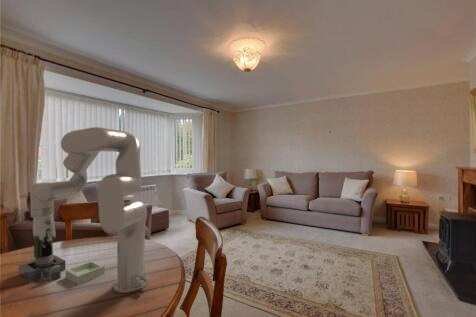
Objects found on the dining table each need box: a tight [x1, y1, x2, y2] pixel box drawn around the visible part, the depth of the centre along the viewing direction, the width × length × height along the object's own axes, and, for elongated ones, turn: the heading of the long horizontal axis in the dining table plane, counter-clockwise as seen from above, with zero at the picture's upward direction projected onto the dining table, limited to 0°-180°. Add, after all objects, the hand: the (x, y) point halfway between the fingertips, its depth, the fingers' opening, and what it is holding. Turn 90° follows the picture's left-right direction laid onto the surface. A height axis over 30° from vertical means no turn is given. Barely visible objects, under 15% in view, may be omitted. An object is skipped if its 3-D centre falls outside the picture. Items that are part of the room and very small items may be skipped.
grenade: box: [32, 233, 54, 269], centre depth 97 cm, size 6×6×15 cm
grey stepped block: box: [42, 265, 62, 283], centre depth 92 cm, size 8×4×5 cm, turn 58°
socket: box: [18, 254, 66, 284], centre depth 97 cm, size 12×12×4 cm
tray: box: [65, 260, 106, 286], centre depth 94 cm, size 10×10×3 cm
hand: (43, 254), depth 97 cm, fingers closed on grenade, 5 cm apart
